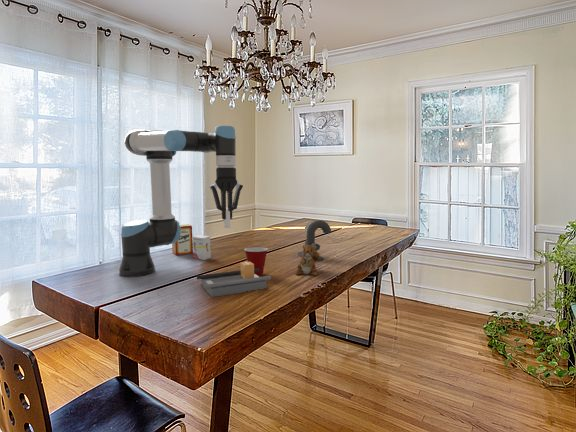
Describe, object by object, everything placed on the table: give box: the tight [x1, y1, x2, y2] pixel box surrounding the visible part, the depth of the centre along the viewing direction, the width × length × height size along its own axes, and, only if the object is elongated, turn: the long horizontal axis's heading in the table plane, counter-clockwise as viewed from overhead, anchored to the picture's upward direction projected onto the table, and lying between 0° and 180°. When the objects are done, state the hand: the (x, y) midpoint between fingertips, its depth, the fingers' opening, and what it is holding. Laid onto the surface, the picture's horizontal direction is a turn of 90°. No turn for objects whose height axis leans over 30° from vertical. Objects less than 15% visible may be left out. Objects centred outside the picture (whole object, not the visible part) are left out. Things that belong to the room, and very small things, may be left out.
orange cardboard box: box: [171, 224, 193, 257], centre depth 211 cm, size 10×6×16 cm
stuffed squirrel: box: [294, 244, 321, 276], centre depth 173 cm, size 10×14×13 cm
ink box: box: [192, 234, 212, 261], centre depth 200 cm, size 9×5×12 cm, turn 56°
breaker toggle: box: [240, 261, 254, 279], centre depth 155 cm, size 4×5×6 cm
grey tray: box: [196, 268, 272, 290], centre depth 152 cm, size 27×15×2 cm, turn 116°
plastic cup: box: [243, 247, 269, 277], centre depth 170 cm, size 11×11×12 cm
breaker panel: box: [200, 273, 267, 298], centre depth 153 cm, size 22×16×3 cm
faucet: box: [297, 219, 332, 262], centre depth 202 cm, size 18×16×20 cm
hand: (227, 227), depth 149 cm, fingers closed
